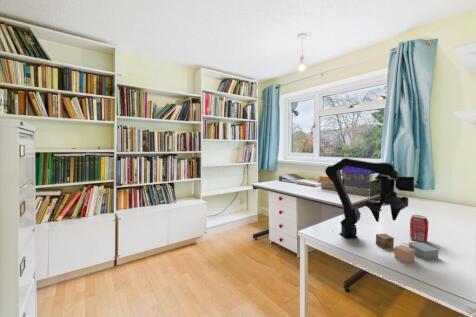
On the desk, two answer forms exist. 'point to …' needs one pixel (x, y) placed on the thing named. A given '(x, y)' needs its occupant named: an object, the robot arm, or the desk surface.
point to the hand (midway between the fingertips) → (385, 221)
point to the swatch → (411, 242)
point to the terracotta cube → (404, 253)
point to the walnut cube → (384, 241)
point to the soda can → (419, 228)
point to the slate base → (424, 251)
